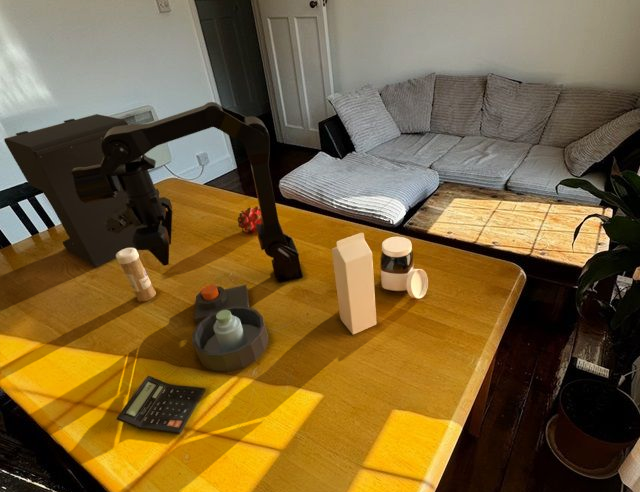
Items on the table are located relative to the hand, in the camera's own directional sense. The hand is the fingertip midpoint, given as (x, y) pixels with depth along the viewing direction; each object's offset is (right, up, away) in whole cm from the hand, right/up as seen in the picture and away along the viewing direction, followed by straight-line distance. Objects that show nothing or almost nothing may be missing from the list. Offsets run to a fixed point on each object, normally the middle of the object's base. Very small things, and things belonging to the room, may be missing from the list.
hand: (167, 254), depth 94 cm
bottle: (+17, -20, -6) cm, 27 cm away
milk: (+44, -15, -3) cm, 46 cm away
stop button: (+9, -10, +3) cm, 13 cm away
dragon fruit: (+12, +9, +35) cm, 38 cm away
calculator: (+8, -29, -18) cm, 35 cm away
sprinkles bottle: (-10, -10, +11) cm, 18 cm away
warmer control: (+11, -13, +5) cm, 18 cm away
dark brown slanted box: (-31, +7, +37) cm, 49 cm away
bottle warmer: (+17, -20, -6) cm, 27 cm away
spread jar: (+55, -8, +6) cm, 56 cm away
